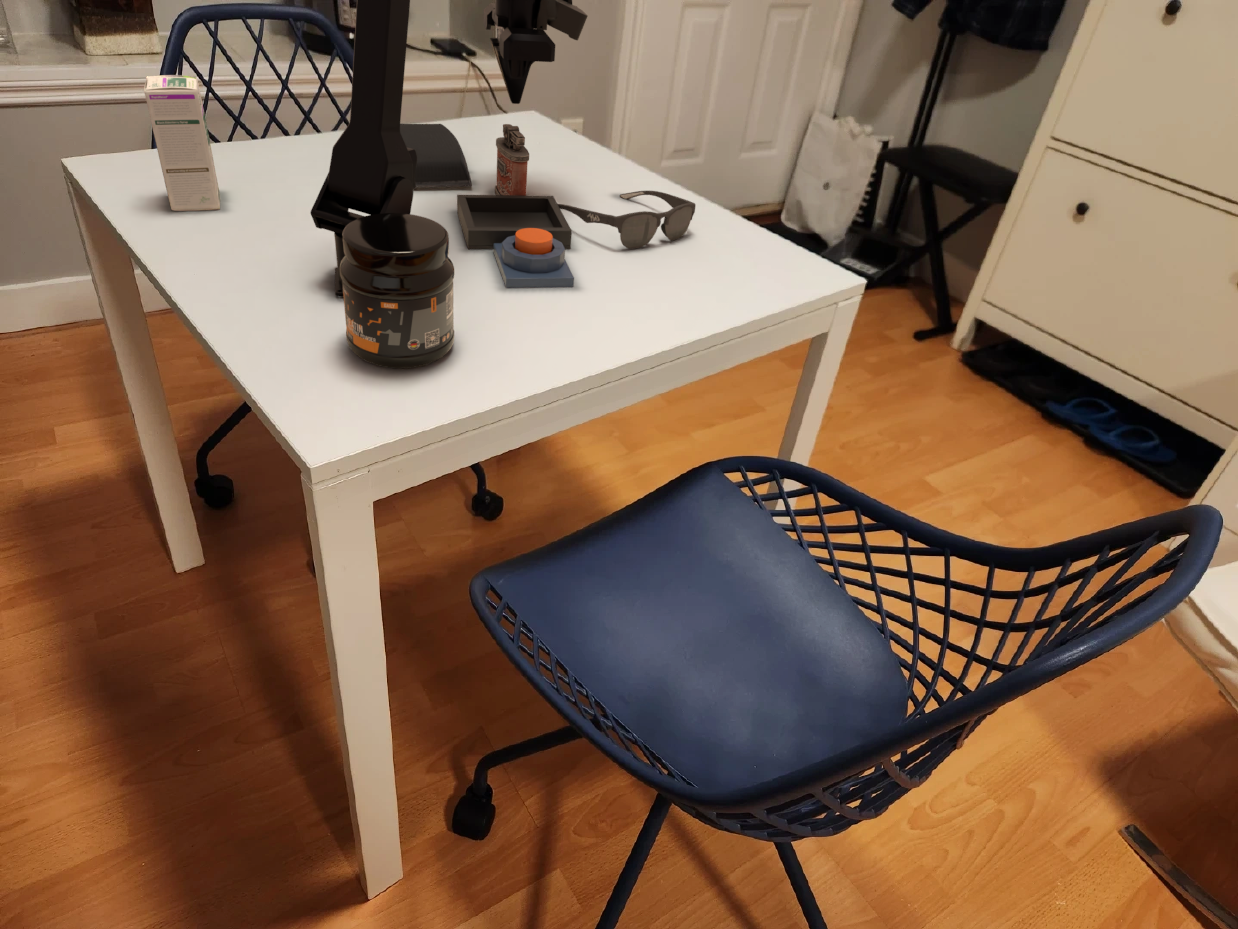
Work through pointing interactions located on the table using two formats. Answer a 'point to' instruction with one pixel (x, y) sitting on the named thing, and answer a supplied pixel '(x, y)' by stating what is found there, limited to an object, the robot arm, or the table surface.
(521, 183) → the lighter
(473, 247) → the holder
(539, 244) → the test button
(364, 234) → the supplement container
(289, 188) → the table surface
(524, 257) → the box
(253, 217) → the table surface
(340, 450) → the table surface
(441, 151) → the hard drive
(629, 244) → the sunglasses
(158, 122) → the syrup box
